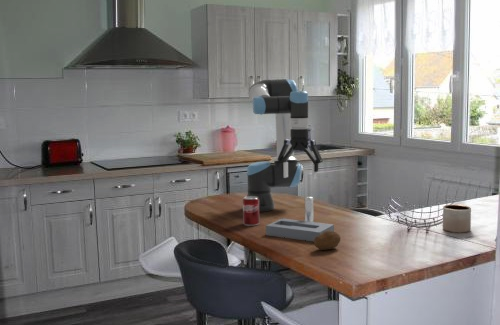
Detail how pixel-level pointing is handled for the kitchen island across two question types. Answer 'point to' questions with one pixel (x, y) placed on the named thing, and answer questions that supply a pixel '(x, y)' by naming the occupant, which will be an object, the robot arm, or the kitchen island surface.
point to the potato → (327, 240)
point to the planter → (456, 218)
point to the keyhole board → (297, 229)
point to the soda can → (251, 211)
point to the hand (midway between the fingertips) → (299, 178)
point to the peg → (309, 209)
